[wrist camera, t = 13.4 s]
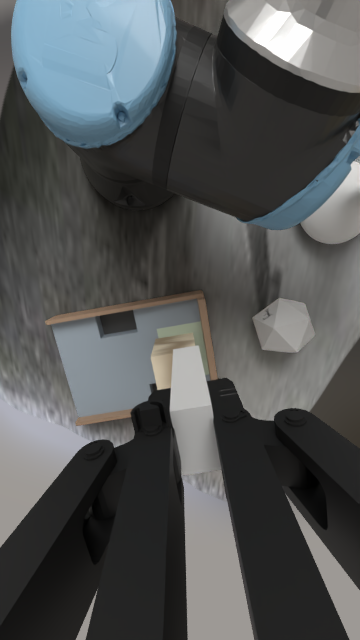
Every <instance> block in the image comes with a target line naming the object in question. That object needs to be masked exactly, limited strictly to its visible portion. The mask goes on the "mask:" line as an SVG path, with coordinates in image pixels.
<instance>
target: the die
mask: <svg viewBox="0 0 360 640" xmlns="http://www.w3.org/2000/svg"><path fill="white" fill-rule="evenodd" d="M252 319H253V322H254V325H255V328H256V332H257V335H258V338H259V341H260V345H261V348H262V350H269V351H277V352H285V353H298V352H299V351H300V350H301V349H302V348H303V347H304V346H305V345H306V344H307V343H308V342H309V341H310V340H311V339H312V338H313V337H314V336H315V332H314V329H313V326H312V323H311V320H310V317H309V314H308V311H307V308H306V305H305V303H301V302H297V301H293V300H288V299H284V298H278V299H277V300H276V301H274V302H273V303H271V304H270V305H269V306H267V307H266V308H265V309H263V310H262V311H261V312H259V313H258V314H257V315H255V316H254V317H252Z"/></svg>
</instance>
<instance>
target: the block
mask: <svg viewBox="0 0 360 640" xmlns="http://www.w3.org/2000/svg"><path fill="white" fill-rule="evenodd" d="M191 346H195V341H194V335H193V333H187V334H181V335H175V336H170V337H164V338H158V339H155V343H154V346H153V350H152V354H151V362H152V366H153V371H154V376H155V380H156V385H157V390H161V389H167V388H171V379H172V361H173V349H179V348H185V347H191Z"/></svg>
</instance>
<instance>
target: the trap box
mask: <svg viewBox="0 0 360 640" xmlns="http://www.w3.org/2000/svg"><path fill="white" fill-rule="evenodd" d="M45 322H46V325H49V324H51V325H52V329H53V332H54V335H55V339H56V342H57V346H58V349H59V353H60V356H61V359H62V363H63V366H64V370H65V373H66V376H67V380H68V383H69V387H70V390H71V393H72V397H73V400H74V404H75V407H76V410H77V414H78V417H79V418H78V419H77V421H76V426H79V425H85V424H91V423H98V422H104V421H110V420H116V419H122V418H128V417H131V414H130V412H131V411H132V409H133V408H134V407H135V406H137V405H138V404H140V403H142V402H145V401H148V398H149V396H150V395H151V394H152V392H153V391H155V390H157V385H156V380H155V376H154V371H153V366H152V362H151V354H152V350H153V346H154V343H155V339H158V338H164V337H170V336H175V335H181V334H187V333H193V335H194V341H195V346H196V345H199V349H200V354H201V359H202V363H203V368H204V372H205V377H206V381H210V380H216V379H218V378H217V371H216V365H215V359H214V352H213V346H212V340H211V333H210V327H209V321H208V314H207V308H206V302H205V298H204V293H203V292H202V290H197V291H192V292H186V293H181V294H175V295H169V296H164V297H158V298H152V299H147V300H141V301H135V302H130V303H124V304H118V305H113V306H107V307H101V308H96V309H90V310H85V311H79V312H73V313H68V314H62V315H56V316H54V317H52V318H50V319H48V320H47V321H45Z"/></svg>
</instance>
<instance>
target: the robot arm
mask: <svg viewBox="0 0 360 640" xmlns="http://www.w3.org/2000/svg"><path fill="white" fill-rule="evenodd" d="M11 35H12V36H11V42H12V53H13V60H14V65H15V69H16V73H17V76H18V79H19V81H20V84H21V86H22V88H23V90H24V92H25V94H26V96H27V98H28V100H29V102H30V103H31V105H32V106H33V107H34V109H35V110H36V111H37V113H38V114H39V116H40V117H41V119H42V121H43V122H44V124H45V125H46V126H47V127H48V128H49V130H50V131H52V132H53V133H54V135H55V136H56V137H58V138H60V139H62V140H63V141H64V142H65V143H66V144H67V145H68V146H69V147H70V148H71V149H72V150H73V151H74V152H75V153H76V154H78V155H79V156H80V161H81V164H82V167H83V170H84V172H85V174H86V176H87V178H88V180H89V181H90V183H91V184H92V186H93V187H94V188H95V189H96V190H97V191H98V192H99V193H100V194H101V195H102V196H103V197H104V198H106V199H107V200H108V201H110V202H111V203H113V204H115V205H117V206H119V207H122V208H125V209H129V210H146V209H151V208H154V207H156V206H159V205H160V204H162V203H164V202H165V201H167V200H168V199H169V198H170V197H171V196H172V195H173V194H174V193H175V194H178V195H180V196H183V197H185V198H188V199H190V200H193V201H196V202H198V203H201V204H203V205H206V206H208V207H211V208H214V209H216V210H219V211H221V212H224V213H226V214H229V215H232V216H234V217H236V218H237V219H238V220H239V221H240V222H243V223H248V224H255V225H258V226H261V227H264V228H267V229H271V230H283V229H288V228H291V227H293V226H295V225H297V224H299V223H301V222H302V221H304V220H305V219H307V218H308V217H310V216H311V215H312V214H313V213H314V212H315V211H317V210H318V209H319V208H320V207H321V206H322V205H323V204H324V203H325V202H326V201H327V200H328V199H329V198H330V197H331V196H332V195H333V193H334V192H335V191H336V190H337V189H338V188H339V186H340V185H341V184H342V182H343V181H344V180H345V178H346V177H347V176H348V174H349V173H350V171H351V170H352V169H351V163H352V162H353V161H354V160H355V159H356V158H358V157H359V156H360V0H229V1H228V2H227V4H226V7H225V10H224V15H223V18H222V22H221V26H220V30H219V33H218V36H217V35H213V34H212V33H209V32H207V31H205V30H203V29H201V28H198V27H196V26H194V25H192V24H190V23H188V22H185V21H183V20H181V19H179V18H177V17H175V15H174V9H173V6H172V3H171V0H17V1H16V5H15V9H14V14H13V20H12V32H11ZM130 414H131V418H132V422H133V426H134V430H135V436H134V439H133V440H131V441H130V442H128V443H125V444H123V445H120V446H118V447H115V448H114V446H113V443H112V442H111V441H109V440H104V439H103V440H96V441H94V442H91V443H89V444H87V445H85V446H84V447H82V448H81V449H80V450H79V451H78V452H77V453H76V454H75V456H74V457H73V458H72V459H71V461H70V462H69V463H68V464H67V466H66V467H65V468H64V469H63V471H62V472H61V473H60V474H59V476H58V477H57V478H56V479H55V480H54V482H53V483H52V485H50V487H49V488H48V489H47V490H46V492H45V493H44V494H43V495H42V497H41V498H40V499H39V501H38V502H37V503H36V504H35V505H34V507H33V508H32V509H31V510H30V511H29V513H28V514H27V515H26V516H25V518H24V519H23V520H22V521H21V523H20V524H19V525H18V526H17V528H16V529H15V530H14V531H13V533H12V534H11V535H10V536H9V538H8V539H7V540H6V541H5V543H4V544H3V545H2V546H1V548H0V640H76V637H77V635H78V633H79V631H80V628H81V626H82V624H83V621H84V619H85V617H86V614H87V612H88V610H89V607H90V605H91V603H92V600H93V598H94V596H95V593H96V591H97V595H96V599H95V603H94V607H93V612H92V616H91V620H90V624H89V628H88V633H87V637H86V640H187V639H188V638H187V599H186V560H185V521H184V520H185V519H184V487H183V481H182V477H181V469H182V474H183V476H185V475H192V474H198V473H205V472H211V471H218V470H222V475H223V480H224V486H225V492H226V498H227V501H228V506H229V511H230V517H231V522H232V526H233V532H234V537H235V542H236V547H237V553H238V557H239V563H240V568H241V573H242V578H243V584H244V588H245V593H246V599H247V604H248V609H249V614H250V619H251V624H252V630H253V635H254V640H349V638H348V636H347V633H346V631H345V629H344V626H343V624H342V622H341V620H340V617H339V615H338V613H337V611H336V608H335V606H334V604H333V601H332V599H331V597H330V595H329V593H328V590H327V588H326V586H325V583H324V581H323V579H322V577H321V574H320V572H319V570H318V567H317V565H316V563H315V561H314V559H313V556H312V554H311V551H310V549H309V547H308V545H307V542H306V540H305V538H304V536H303V533H302V531H301V529H300V526H299V524H298V522H297V520H296V517H295V515H294V513H293V511H292V508H291V506H290V504H289V501H288V499H287V497H286V495H287V496H288V497H289V499H290V500H291V501H292V503H293V504H294V505H295V506H296V508H297V509H298V510H299V512H300V513H301V514H302V515H303V517H304V518H305V520H306V521H307V522H308V523H309V525H310V526H311V527H312V529H313V530H314V531H315V533H316V534H317V535H318V536H319V538H320V539H321V540H322V542H323V543H324V544H325V546H326V547H327V548H328V549H329V551H330V552H331V553H332V555H333V556H334V557H335V559H336V560H337V561H338V563H339V564H340V565H341V566H342V568H343V569H344V570H345V572H346V573H347V574H348V576H349V577H350V578H351V579H352V581H353V582H354V583H355V585H356V586H357V587H358V589H359V590H360V448H358V447H357V446H355V445H354V444H352V443H351V442H350V441H349V440H347V439H346V438H344V437H343V436H342V435H340V434H339V433H338V432H336V431H335V430H334V429H332V428H331V427H330V426H328V425H327V424H325V423H324V422H323V421H321V420H320V419H319V418H317V417H316V416H315V415H313V414H312V413H310V412H308V411H306V410H302V409H296V408H290V409H284V410H282V411H280V412H278V413H277V414H276V415H275V416H274V421H265V420H258V419H255V418H253V417H251V415H250V413H249V412H248V411H247V410H245V409H244V408H243V405H242V403H241V400H240V398H239V396H238V393H237V391H236V389H235V386H234V384H233V382H232V381H230V380H229V379H227V378H223V379H216V380H210V381H206V377H205V372H204V368H203V363H202V359H201V354H200V349H199V345H196V346H191V347H185V348H179V349H173V361H172V379H171V388H167V389H161V390H155V391H153V392H152V394H151V395H150V396H149V398H148V401H145V402H142V403H140V404H138V405H137V406H135V407H134V408H133V409H132V411H131V412H130ZM285 493H286V495H285ZM97 589H98V590H97Z"/></svg>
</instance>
